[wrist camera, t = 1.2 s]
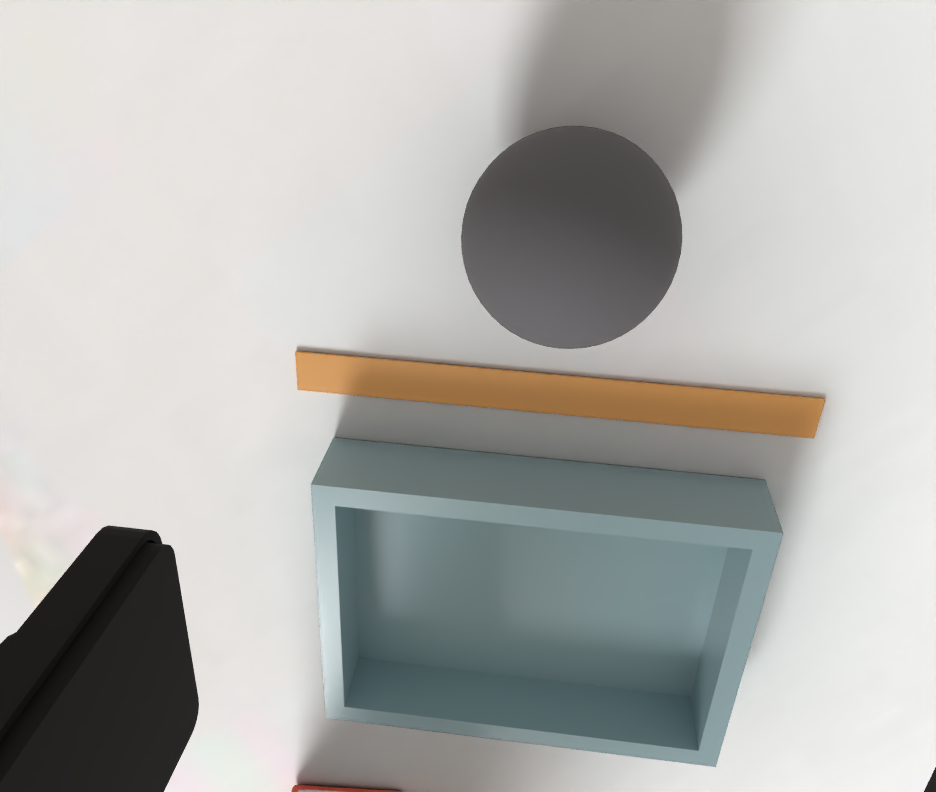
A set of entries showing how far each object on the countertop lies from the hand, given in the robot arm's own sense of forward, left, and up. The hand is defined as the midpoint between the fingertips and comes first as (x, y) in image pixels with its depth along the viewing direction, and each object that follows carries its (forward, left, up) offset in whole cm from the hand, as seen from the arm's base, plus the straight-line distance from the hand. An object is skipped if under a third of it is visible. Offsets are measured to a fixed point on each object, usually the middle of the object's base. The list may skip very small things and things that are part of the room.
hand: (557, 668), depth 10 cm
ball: (0, 0, -18) cm, 18 cm away
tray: (+13, 0, -18) cm, 22 cm away
